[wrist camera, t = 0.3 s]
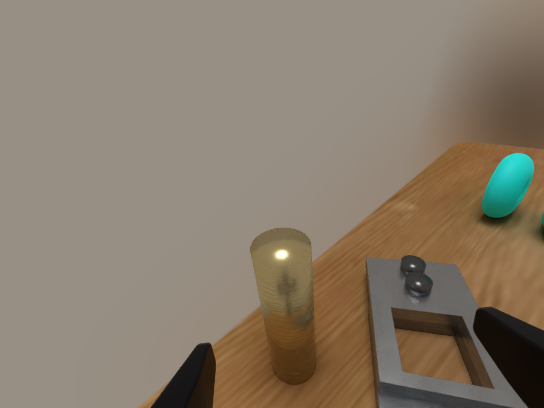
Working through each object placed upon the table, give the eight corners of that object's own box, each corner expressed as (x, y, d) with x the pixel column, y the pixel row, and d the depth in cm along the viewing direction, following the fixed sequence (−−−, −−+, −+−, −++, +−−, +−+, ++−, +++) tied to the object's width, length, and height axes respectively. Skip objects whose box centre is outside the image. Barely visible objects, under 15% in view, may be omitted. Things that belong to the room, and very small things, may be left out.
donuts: (495, 200, 44) (515, 143, 39) (580, 222, 37) (619, 156, 32) (471, 223, 39) (492, 162, 34) (565, 254, 32) (607, 182, 27)
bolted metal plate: (664, 752, 10) (747, 776, 8) (397, 635, 12) (410, 632, 10) (449, 283, 30) (458, 257, 28) (364, 275, 32) (367, 251, 30)
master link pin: (320, 381, 22) (317, 262, 15) (273, 387, 22) (249, 270, 15) (311, 336, 26) (305, 225, 19) (271, 341, 26) (250, 231, 19)
